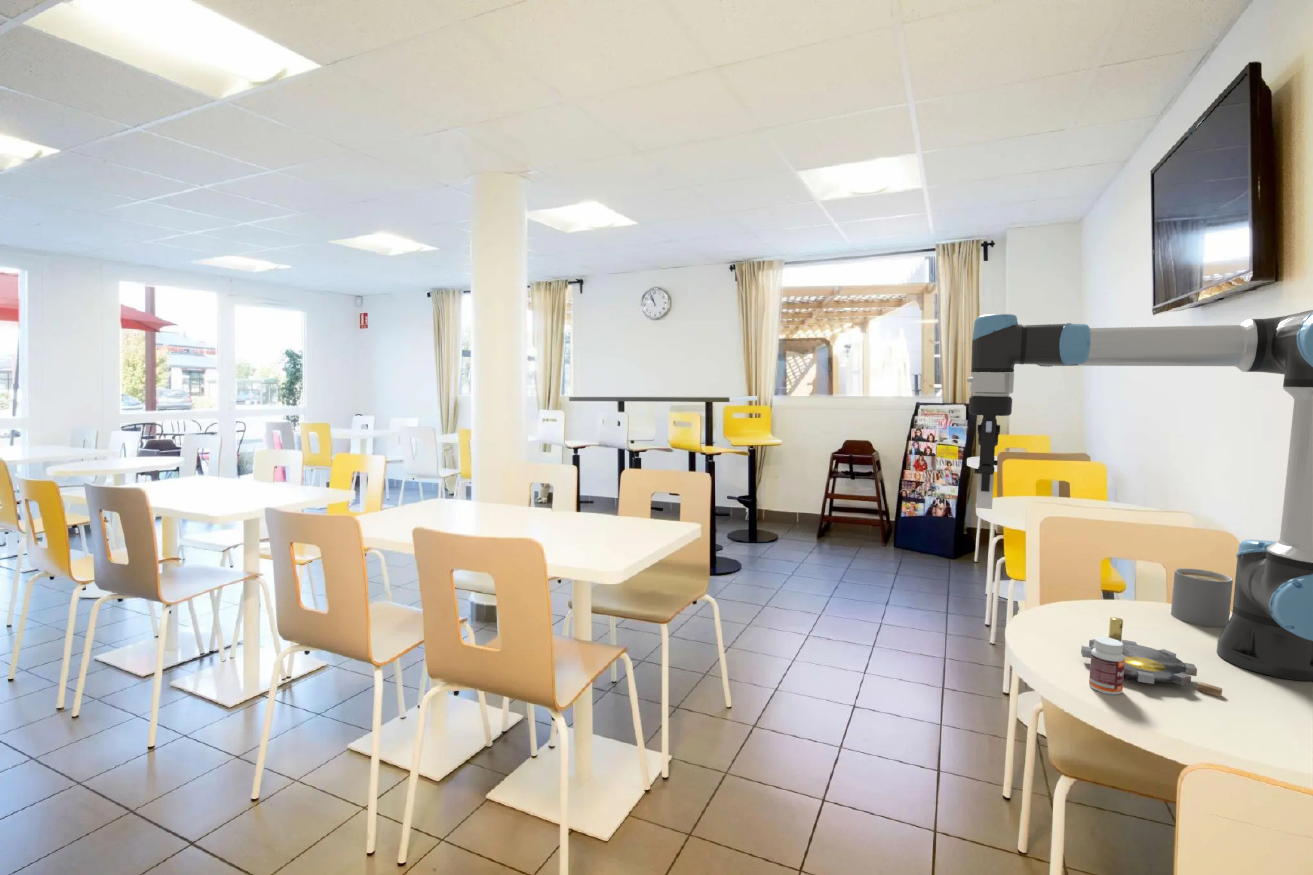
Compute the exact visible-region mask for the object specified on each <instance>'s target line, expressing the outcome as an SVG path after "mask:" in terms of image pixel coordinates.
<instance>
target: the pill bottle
mask: <svg viewBox="0 0 1313 875" xmlns="http://www.w3.org/2000/svg"><path fill="white" fill-rule="evenodd" d="M1094 639H1095V643H1094V647H1095V648H1093V649H1092V651H1091V658H1090V665H1089V677H1088V678H1089V680H1088V681H1089V682H1088V684H1089V687H1090V688H1092V689H1093V690H1095V691H1097V692H1100V693H1102V694H1106V695H1113V696H1115V695H1120V694H1122V693H1123V686H1124V685H1123V684H1124V679H1125V678H1124V665H1125V657H1124V655H1123V654H1122V652H1123V643H1122V641H1121V642H1120V641H1118V640H1115V639H1112V638H1109V637H1106V636H1105V637H1104V636H1097V637H1095V638H1094Z"/></svg>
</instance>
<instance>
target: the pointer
mask: <svg viewBox="0 0 1313 875" xmlns="http://www.w3.org/2000/svg"><path fill="white" fill-rule="evenodd" d="M1196 691H1198V692H1202V693H1204V694H1209V695H1211V696H1215V697H1216V698H1217V697H1218V698H1220V697H1222V695H1223V688H1222V687H1219V686H1217V685H1212V684H1209V683H1206V682H1202V681H1198V683H1197V690H1196Z"/></svg>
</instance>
